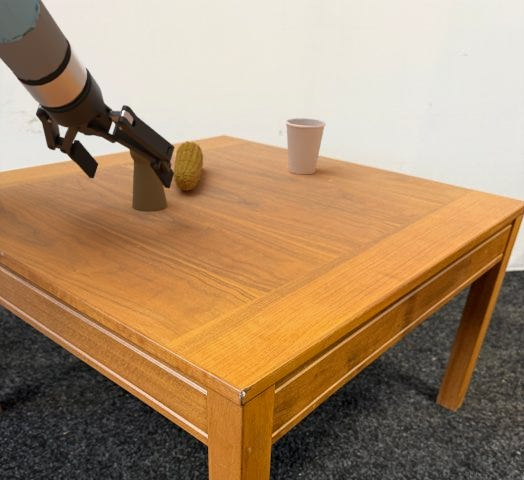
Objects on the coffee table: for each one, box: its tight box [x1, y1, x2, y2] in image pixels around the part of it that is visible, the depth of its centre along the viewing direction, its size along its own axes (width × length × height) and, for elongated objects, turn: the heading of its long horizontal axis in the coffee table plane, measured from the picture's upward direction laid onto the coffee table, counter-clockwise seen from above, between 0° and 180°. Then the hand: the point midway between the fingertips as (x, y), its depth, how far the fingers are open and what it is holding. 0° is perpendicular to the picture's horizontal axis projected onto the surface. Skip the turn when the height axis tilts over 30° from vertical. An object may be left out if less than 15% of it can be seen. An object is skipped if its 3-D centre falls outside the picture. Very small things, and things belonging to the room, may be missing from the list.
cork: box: [129, 149, 168, 212], centre depth 93 cm, size 6×6×11 cm
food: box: [173, 140, 204, 191], centre depth 108 cm, size 21×6×6 cm, turn 5°
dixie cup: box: [284, 117, 327, 175], centre depth 116 cm, size 8×8×10 cm
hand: (131, 175), depth 89 cm, fingers open, 13 cm apart
